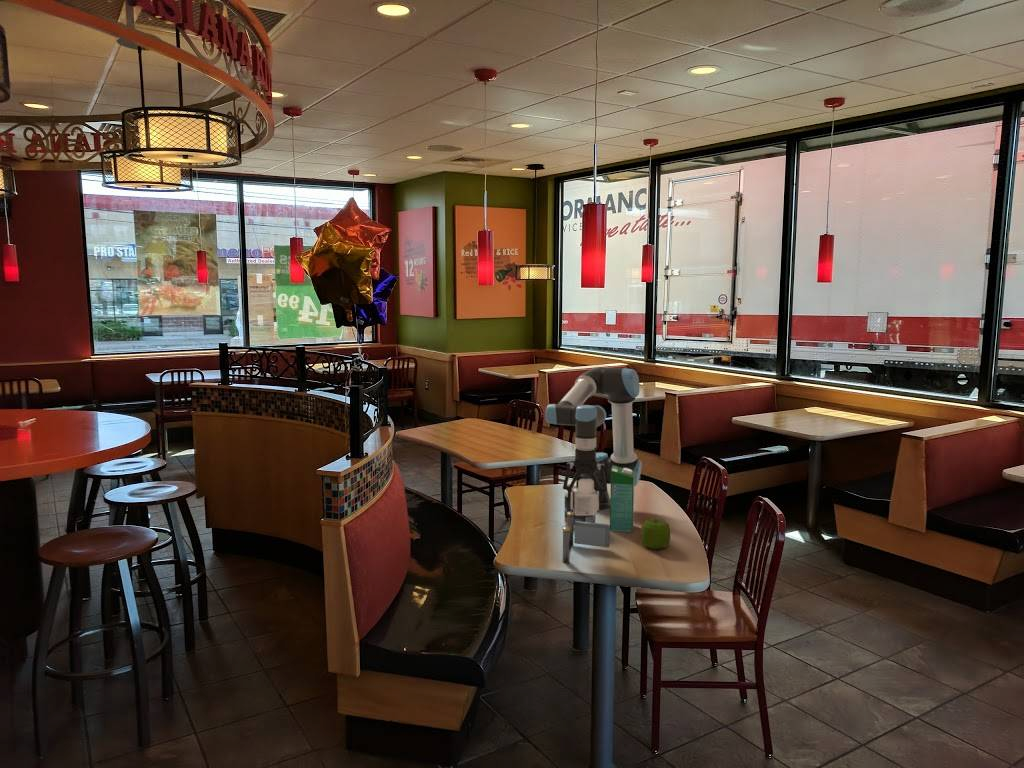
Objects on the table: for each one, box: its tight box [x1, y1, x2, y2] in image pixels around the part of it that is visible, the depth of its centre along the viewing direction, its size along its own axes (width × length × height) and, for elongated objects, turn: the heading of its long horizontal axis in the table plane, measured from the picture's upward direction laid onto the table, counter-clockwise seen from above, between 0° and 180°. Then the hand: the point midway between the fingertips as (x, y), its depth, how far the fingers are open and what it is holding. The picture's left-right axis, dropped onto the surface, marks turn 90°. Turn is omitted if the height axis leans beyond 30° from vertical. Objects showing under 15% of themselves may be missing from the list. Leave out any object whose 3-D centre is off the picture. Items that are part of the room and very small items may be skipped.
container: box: [573, 475, 597, 516], centre depth 263 cm, size 8×8×13 cm
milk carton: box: [609, 465, 635, 533], centre depth 292 cm, size 9×9×25 cm
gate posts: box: [561, 512, 574, 564], centre depth 265 cm, size 20×3×13 cm, turn 170°
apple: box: [640, 518, 672, 550], centre depth 272 cm, size 11×11×11 cm
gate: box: [573, 521, 611, 549], centre depth 271 cm, size 13×2×9 cm, turn 70°
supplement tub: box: [563, 478, 597, 530], centre depth 295 cm, size 13×13×18 cm
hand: (584, 508), depth 263 cm, fingers closed on container, 9 cm apart
